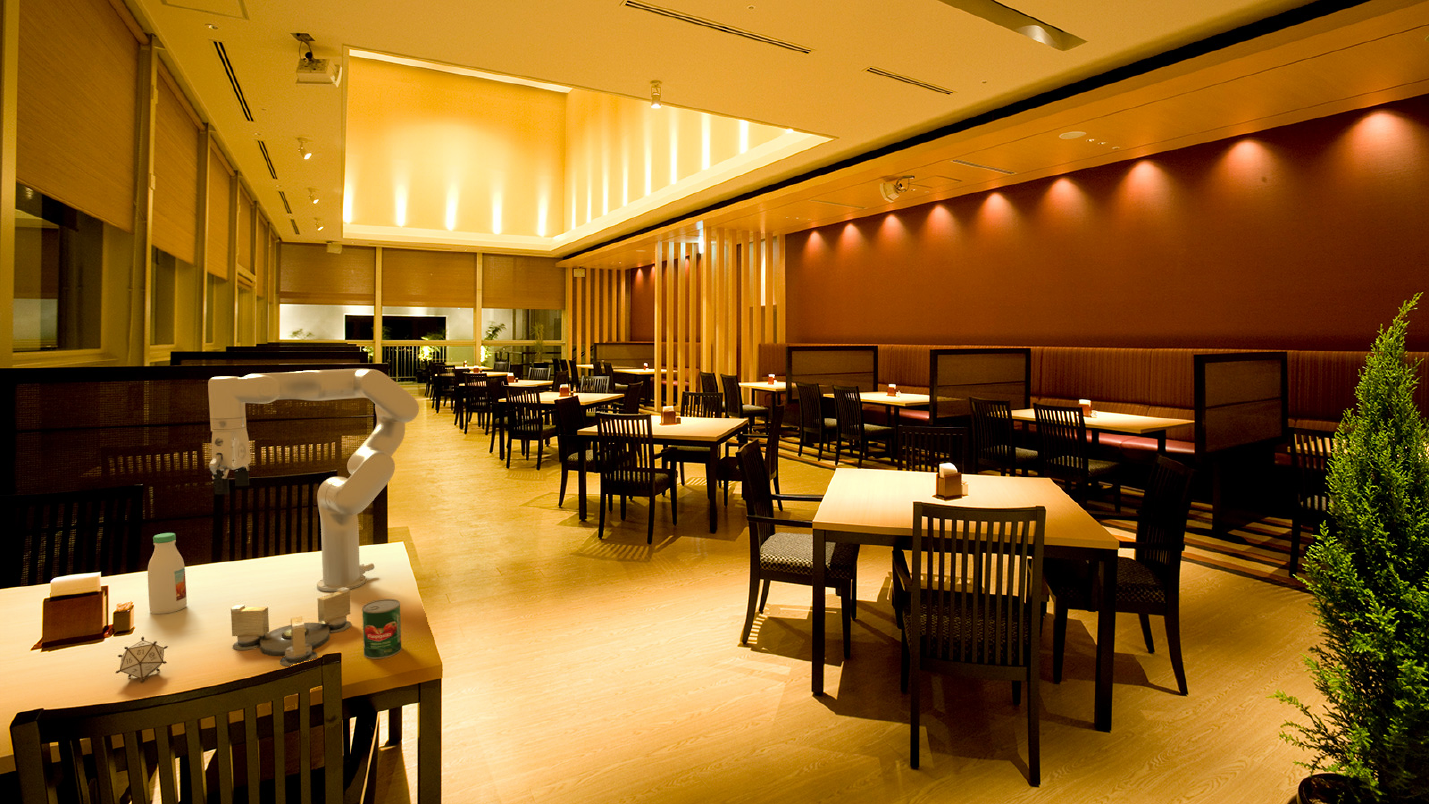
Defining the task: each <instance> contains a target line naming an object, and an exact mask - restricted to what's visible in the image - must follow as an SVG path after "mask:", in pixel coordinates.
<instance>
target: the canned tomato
mask: <svg viewBox="0 0 1429 804" xmlns="http://www.w3.org/2000/svg"><path fill="white" fill-rule="evenodd" d="M361 610H362V614H361V616H362V633H363V634H362V637H363V639H362V640H363V642H362V643H363V656H364V657H365V658H367V659H370V660H381V659H387V658H390V657H393V656H395V655H397V654H398V653H400V652H401V651H402V649H403V648H402V627H401V626H402V625H401V624H402V623H401V622H402V620H401V602H400V601H399V600H397V599H392V598H384V599H383V598H382V599H376V600H373V601H370V602H367V603H365V604H363V606H362V607H361Z"/></svg>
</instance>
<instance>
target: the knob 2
mask: <svg viewBox="0 0 1429 804" xmlns="http://www.w3.org/2000/svg"><path fill="white" fill-rule="evenodd" d="M304 623H305V621H304V619H303V616H297V617H291V618H290V625H291V639H292V646H291V647H289V648H287V649H286V650H285V656H284V657H285V660H286V661H288V662H296V661H302V660H305V659H307V658H309V657H311V656H312V651H313V650H312V645H310V644H305V629H304V627H305V626H304Z"/></svg>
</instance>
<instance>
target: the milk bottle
mask: <svg viewBox="0 0 1429 804" xmlns="http://www.w3.org/2000/svg"><path fill="white" fill-rule="evenodd" d="M152 539H153V540H152V541H153V546H154V551H153V553H152V556H151V558H150V559H149V561H148V565H147V588H148V605H149V612H150V613H151V614H154V615H164V614H170V613H174V612H177V611H181V610H183V609H184V608H186V606H187V605H188V604H187V603H188V602H187V600H188V599H187V598H188V597H187V582H186V567H185V563H184V559H183V557H182V555H181V554H180V552H179V550H178V549H177V546H176V542H177V541H176V539H177V537H176V533H174V532H164V533H160V534H155V535H154V536H153V537H152Z"/></svg>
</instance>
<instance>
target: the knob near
mask: <svg viewBox="0 0 1429 804" xmlns="http://www.w3.org/2000/svg"><path fill="white" fill-rule="evenodd" d="M350 590H351V589H349V588H345V587H342V588H340V589H337V591H334V592H331V593H329V594H326V595H324V596H321V597H318V598H317V618H318V621H317V623H322V624H325V625H327V626H328V627H329V629H337V628H341V627H343V626H345V625H346V624H347V621H348V619H347V616H349V615H351V597H350V596H351V595H350Z"/></svg>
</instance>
